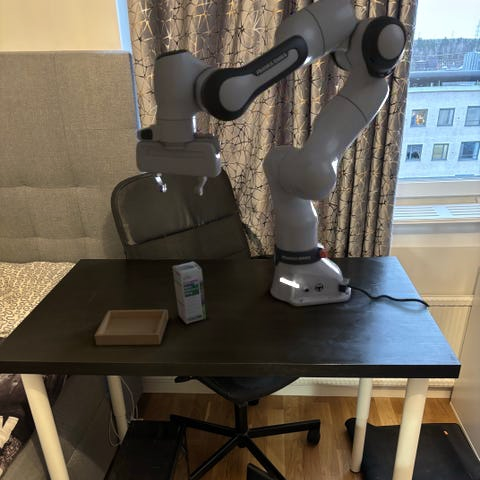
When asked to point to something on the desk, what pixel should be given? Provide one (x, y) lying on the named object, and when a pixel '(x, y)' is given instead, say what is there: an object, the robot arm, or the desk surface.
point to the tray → (132, 327)
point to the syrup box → (189, 292)
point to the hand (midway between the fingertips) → (180, 193)
